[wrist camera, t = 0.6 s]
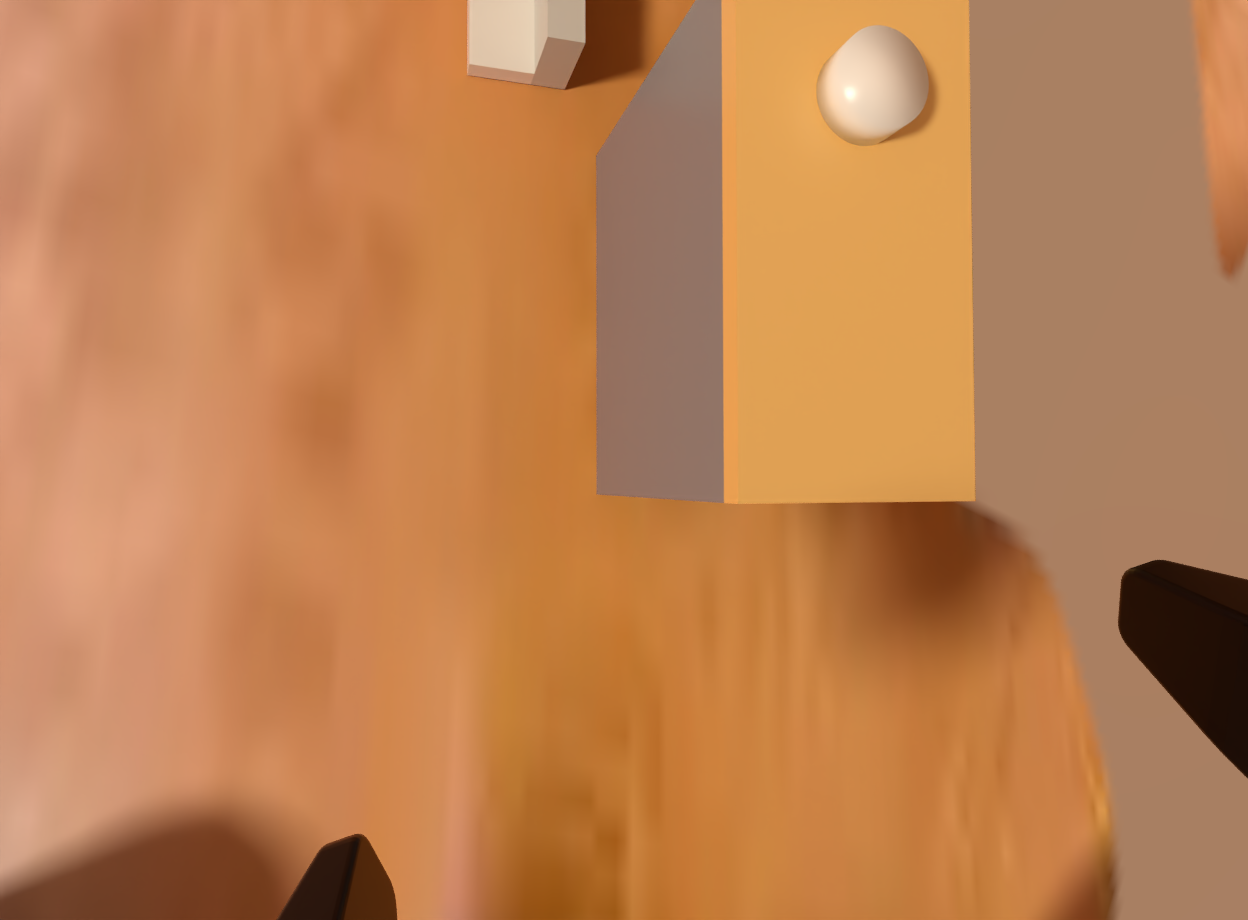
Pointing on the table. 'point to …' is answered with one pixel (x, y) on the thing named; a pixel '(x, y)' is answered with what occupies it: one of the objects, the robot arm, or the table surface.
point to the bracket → (525, 40)
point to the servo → (791, 259)
